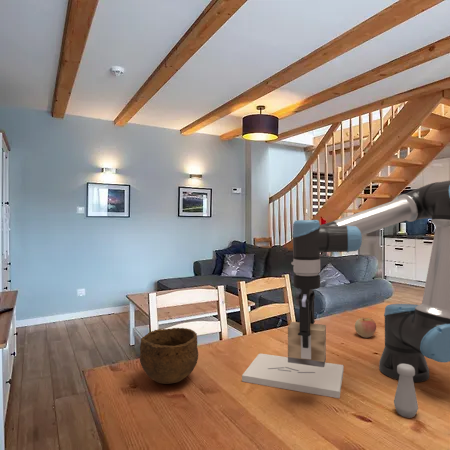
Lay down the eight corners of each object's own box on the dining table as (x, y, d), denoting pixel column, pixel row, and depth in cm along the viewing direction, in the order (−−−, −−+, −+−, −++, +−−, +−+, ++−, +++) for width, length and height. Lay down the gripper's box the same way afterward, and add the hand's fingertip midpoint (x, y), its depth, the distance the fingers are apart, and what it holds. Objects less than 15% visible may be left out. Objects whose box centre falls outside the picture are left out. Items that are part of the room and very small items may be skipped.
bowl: (149, 401, 101) (148, 349, 101) (134, 375, 118) (133, 331, 118) (208, 386, 110) (208, 339, 110) (186, 364, 126) (186, 323, 126)
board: (343, 370, 120) (343, 365, 120) (339, 398, 102) (339, 391, 102) (259, 358, 132) (259, 353, 132) (242, 381, 113) (241, 375, 113)
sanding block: (325, 359, 102) (325, 325, 102) (324, 367, 96) (324, 331, 96) (291, 354, 105) (291, 321, 105) (287, 362, 100) (287, 327, 99)
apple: (377, 335, 157) (377, 317, 157) (374, 341, 150) (374, 322, 150) (357, 332, 162) (357, 314, 162) (352, 337, 154) (352, 319, 154)
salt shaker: (389, 408, 96) (389, 361, 96) (409, 407, 97) (409, 360, 97) (402, 420, 91) (402, 370, 90) (423, 419, 91) (423, 369, 91)
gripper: (298, 268, 111) (299, 341, 111) (287, 278, 93) (288, 365, 93) (323, 269, 108) (324, 344, 108) (316, 279, 90) (317, 369, 90)
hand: (307, 353), depth 101 cm, fingers closed on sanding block, 6 cm apart
